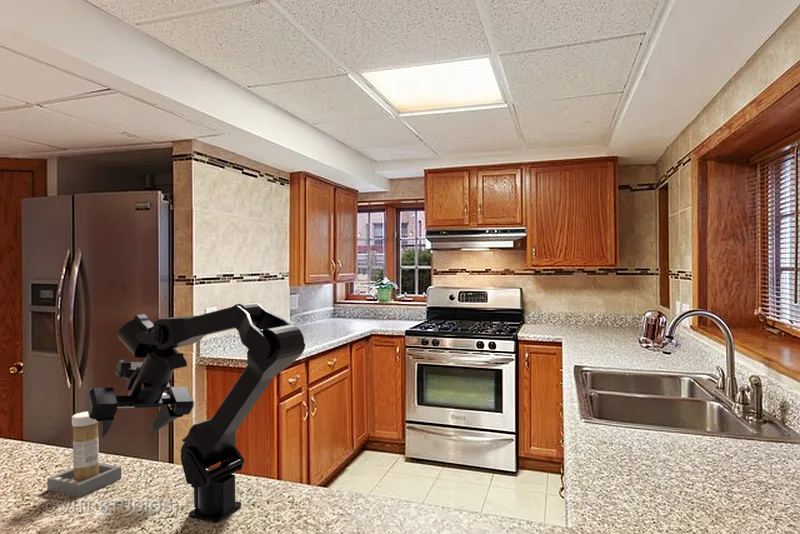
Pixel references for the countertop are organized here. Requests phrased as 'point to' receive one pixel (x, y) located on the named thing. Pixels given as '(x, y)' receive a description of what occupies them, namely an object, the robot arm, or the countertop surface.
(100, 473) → the dish
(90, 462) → the sprinkles bottle
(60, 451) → the countertop surface
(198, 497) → the robot arm
